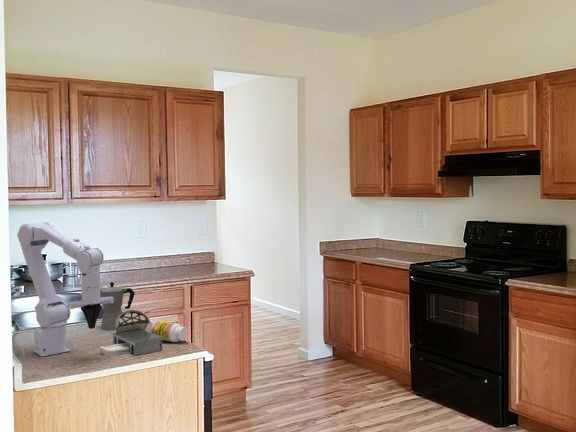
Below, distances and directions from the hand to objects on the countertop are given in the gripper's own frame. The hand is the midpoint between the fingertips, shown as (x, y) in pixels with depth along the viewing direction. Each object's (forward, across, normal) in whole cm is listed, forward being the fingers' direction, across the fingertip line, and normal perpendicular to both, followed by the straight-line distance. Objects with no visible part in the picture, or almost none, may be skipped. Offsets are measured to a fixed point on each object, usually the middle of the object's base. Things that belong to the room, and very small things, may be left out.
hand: (91, 327), depth 186 cm
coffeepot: (+10, +24, +32) cm, 41 cm away
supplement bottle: (+6, +26, +6) cm, 28 cm away
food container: (+8, +19, +14) cm, 25 cm away
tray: (+10, +10, 0) cm, 14 cm away
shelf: (+10, +16, 0) cm, 19 cm away
